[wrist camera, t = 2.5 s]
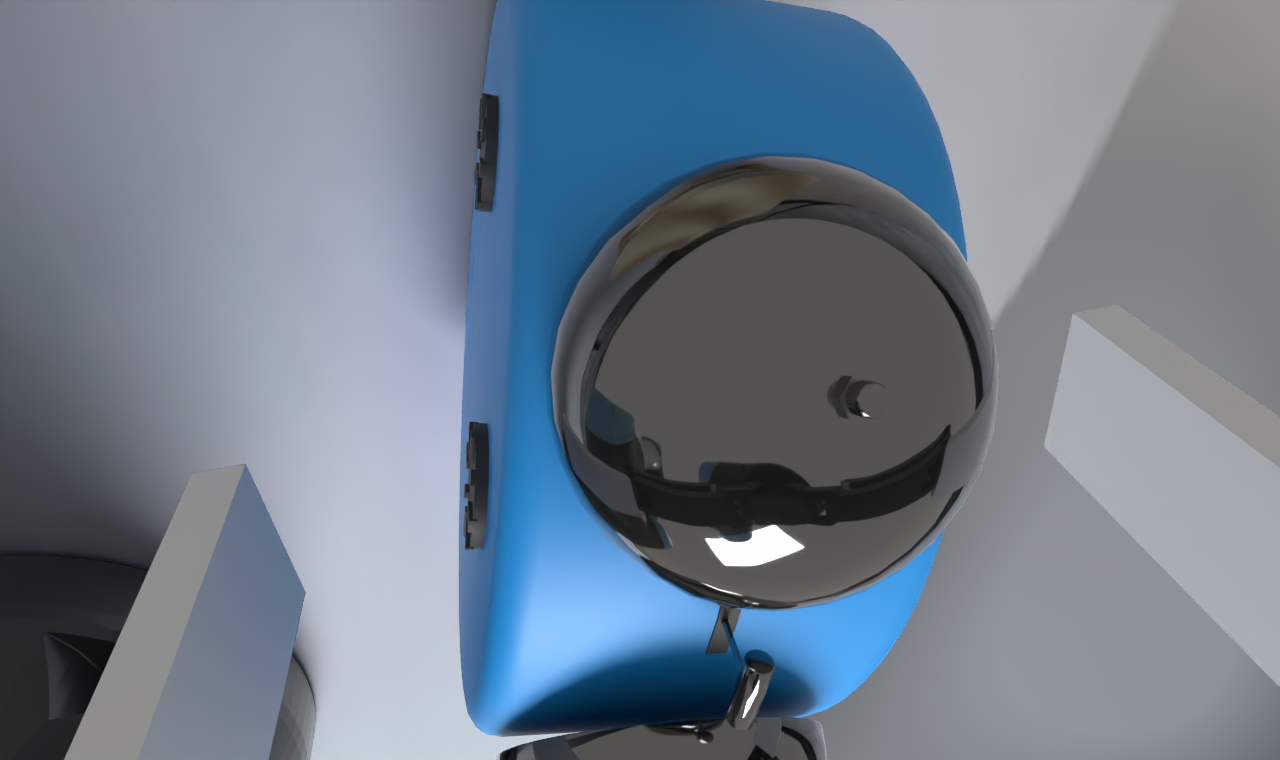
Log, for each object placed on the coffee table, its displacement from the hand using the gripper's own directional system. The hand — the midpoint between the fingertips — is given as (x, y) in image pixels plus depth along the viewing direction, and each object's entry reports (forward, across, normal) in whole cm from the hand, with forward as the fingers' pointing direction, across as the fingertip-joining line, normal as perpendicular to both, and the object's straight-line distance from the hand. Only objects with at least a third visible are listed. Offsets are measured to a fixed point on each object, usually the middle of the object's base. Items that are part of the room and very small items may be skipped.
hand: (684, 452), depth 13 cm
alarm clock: (+10, 0, 0) cm, 10 cm away
